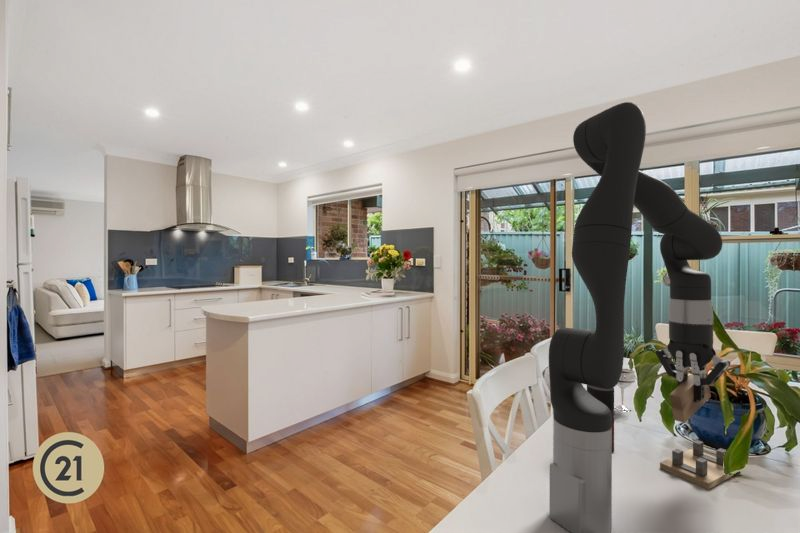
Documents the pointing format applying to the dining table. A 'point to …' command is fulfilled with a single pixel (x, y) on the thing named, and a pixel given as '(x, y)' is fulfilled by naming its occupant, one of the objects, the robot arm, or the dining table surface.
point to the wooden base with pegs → (697, 465)
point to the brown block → (686, 400)
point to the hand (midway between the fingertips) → (691, 399)
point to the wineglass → (625, 383)
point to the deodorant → (604, 402)
